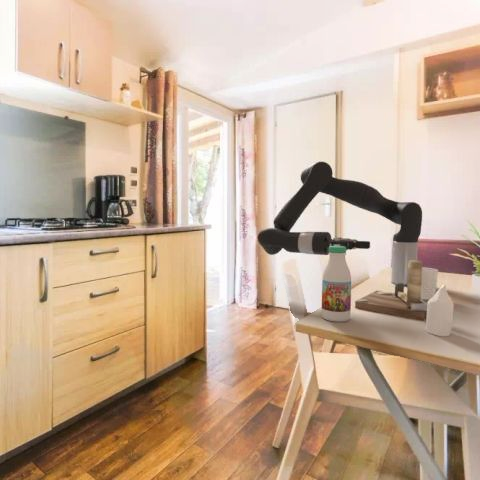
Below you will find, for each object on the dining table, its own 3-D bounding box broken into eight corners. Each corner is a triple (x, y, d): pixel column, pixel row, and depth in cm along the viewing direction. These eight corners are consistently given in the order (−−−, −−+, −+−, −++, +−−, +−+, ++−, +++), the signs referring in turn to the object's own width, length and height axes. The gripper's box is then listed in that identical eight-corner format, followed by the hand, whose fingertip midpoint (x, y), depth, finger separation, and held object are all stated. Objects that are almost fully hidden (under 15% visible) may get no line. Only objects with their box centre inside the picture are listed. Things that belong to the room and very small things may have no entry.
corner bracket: (406, 306, 99) (406, 299, 99) (421, 306, 99) (421, 300, 99) (411, 310, 95) (412, 303, 95) (427, 311, 95) (428, 304, 94)
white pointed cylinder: (426, 280, 87) (451, 282, 85) (423, 327, 88) (448, 329, 86) (430, 285, 81) (457, 287, 79) (427, 334, 82) (454, 338, 80)
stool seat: (376, 296, 120) (376, 289, 119) (438, 305, 107) (438, 299, 107) (355, 307, 105) (355, 300, 105) (423, 320, 93) (423, 312, 93)
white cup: (440, 301, 113) (441, 271, 112) (414, 300, 114) (415, 270, 114) (431, 295, 121) (433, 267, 120) (407, 294, 122) (409, 266, 121)
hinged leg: (392, 294, 112) (393, 255, 111) (403, 294, 111) (405, 255, 110) (409, 307, 97) (411, 262, 96) (422, 308, 96) (424, 262, 95)
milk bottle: (317, 314, 98) (319, 244, 97) (343, 313, 99) (345, 244, 97) (326, 322, 91) (328, 247, 89) (354, 322, 91) (357, 247, 90)
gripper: (307, 233, 107) (364, 234, 98) (321, 230, 118) (374, 231, 109) (307, 256, 108) (364, 260, 99) (321, 252, 119) (373, 254, 110)
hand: (369, 245), depth 104 cm, fingers closed
